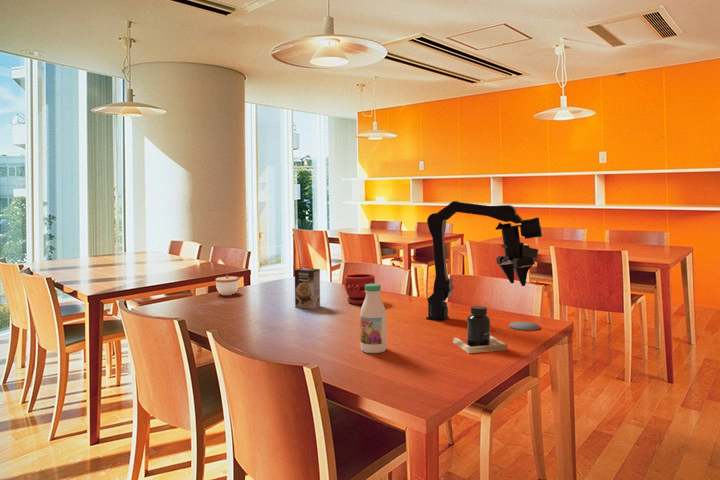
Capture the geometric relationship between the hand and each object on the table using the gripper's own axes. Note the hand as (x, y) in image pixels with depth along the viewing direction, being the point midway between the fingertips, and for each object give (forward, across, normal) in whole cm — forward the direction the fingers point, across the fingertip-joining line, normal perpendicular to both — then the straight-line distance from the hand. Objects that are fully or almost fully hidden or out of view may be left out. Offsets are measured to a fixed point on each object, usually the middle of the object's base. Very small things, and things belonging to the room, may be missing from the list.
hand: (517, 284), depth 173 cm
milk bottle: (+9, -19, +56) cm, 60 cm away
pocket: (+13, -19, +24) cm, 33 cm away
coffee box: (+2, +43, +74) cm, 86 cm away
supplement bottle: (+13, -19, +24) cm, 33 cm away
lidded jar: (-6, +77, +112) cm, 136 cm away
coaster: (+15, -1, +1) cm, 15 cm away
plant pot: (+5, +48, +52) cm, 71 cm away
